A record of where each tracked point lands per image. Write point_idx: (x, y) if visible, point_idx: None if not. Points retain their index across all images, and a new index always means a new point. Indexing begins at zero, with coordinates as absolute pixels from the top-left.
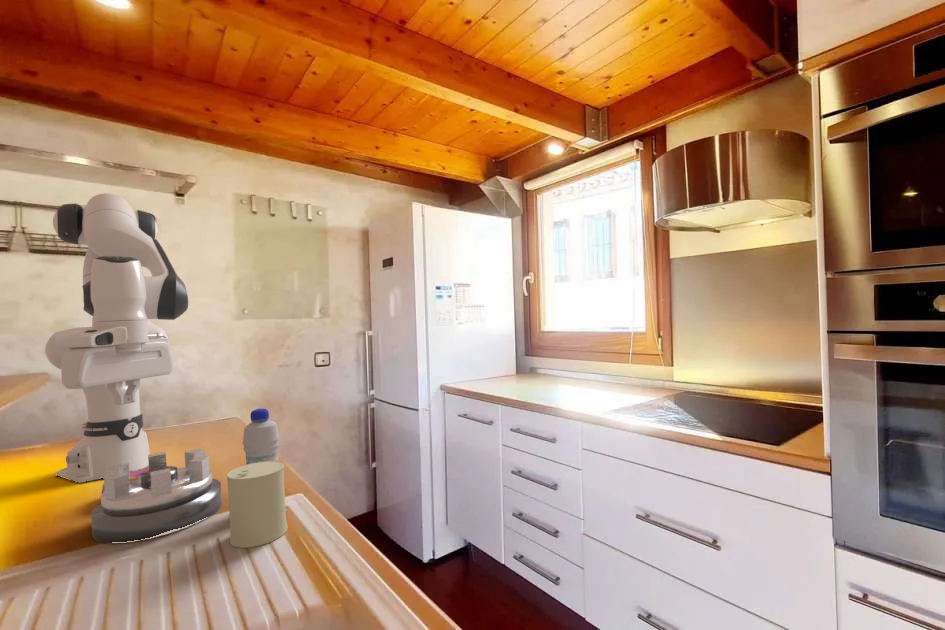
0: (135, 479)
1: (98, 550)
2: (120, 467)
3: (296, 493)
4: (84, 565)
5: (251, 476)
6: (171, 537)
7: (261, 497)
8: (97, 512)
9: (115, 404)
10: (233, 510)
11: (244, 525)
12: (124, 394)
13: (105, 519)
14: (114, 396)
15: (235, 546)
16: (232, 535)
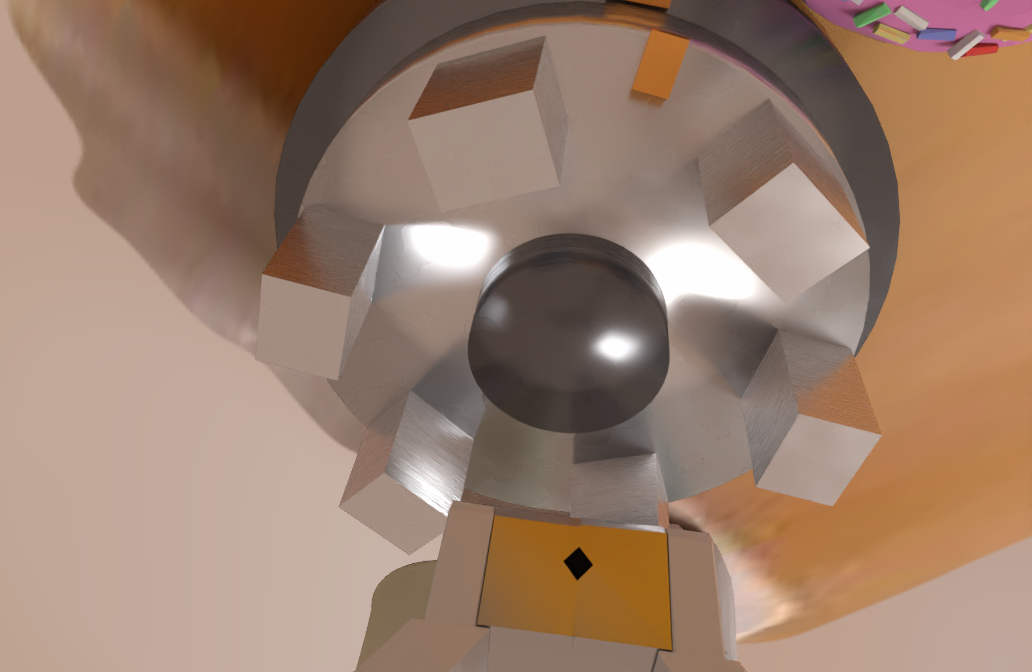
0: (642, 97)
1: (259, 194)
2: (456, 208)
3: (792, 601)
4: (165, 242)
5: None
6: None
7: None
8: (348, 82)
9: (452, 509)
10: None
11: None
12: (623, 659)
13: (286, 216)
14: (423, 624)
15: (374, 592)
16: (376, 606)
